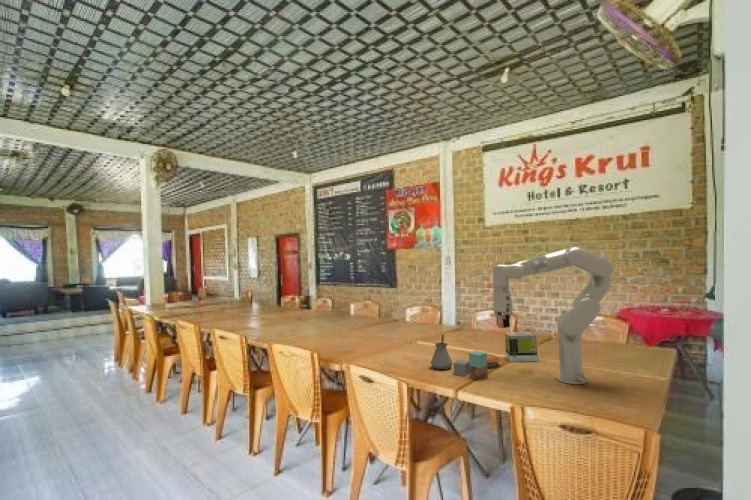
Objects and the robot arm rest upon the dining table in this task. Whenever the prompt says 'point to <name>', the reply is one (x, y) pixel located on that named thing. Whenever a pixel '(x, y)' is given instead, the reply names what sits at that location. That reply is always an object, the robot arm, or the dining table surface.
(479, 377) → the block
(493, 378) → the dining table surface
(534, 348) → the tea box
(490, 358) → the pie
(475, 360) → the tower top
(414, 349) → the dining table surface
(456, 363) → the block
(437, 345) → the coffee pot
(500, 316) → the pink rounded piece
